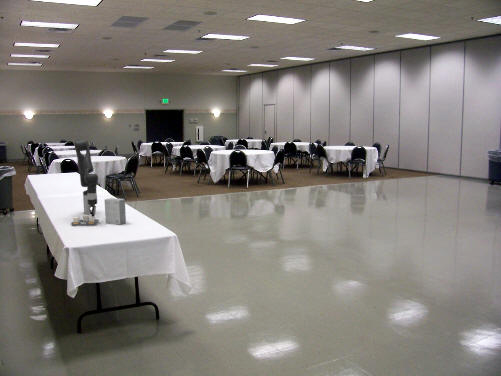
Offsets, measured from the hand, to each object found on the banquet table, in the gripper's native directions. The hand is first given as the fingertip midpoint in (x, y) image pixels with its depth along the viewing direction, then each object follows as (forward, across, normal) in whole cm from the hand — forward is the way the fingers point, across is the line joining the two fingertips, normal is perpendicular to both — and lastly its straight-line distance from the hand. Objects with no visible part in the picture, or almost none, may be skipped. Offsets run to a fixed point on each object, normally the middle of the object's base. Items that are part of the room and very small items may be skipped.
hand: (93, 219), depth 400 cm
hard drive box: (+4, 0, +18) cm, 18 cm away
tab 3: (+2, +4, 0) cm, 5 cm away
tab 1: (+2, +5, -12) cm, 13 cm away
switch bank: (+4, +2, -6) cm, 7 cm away
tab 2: (+2, -1, -6) cm, 7 cm away
